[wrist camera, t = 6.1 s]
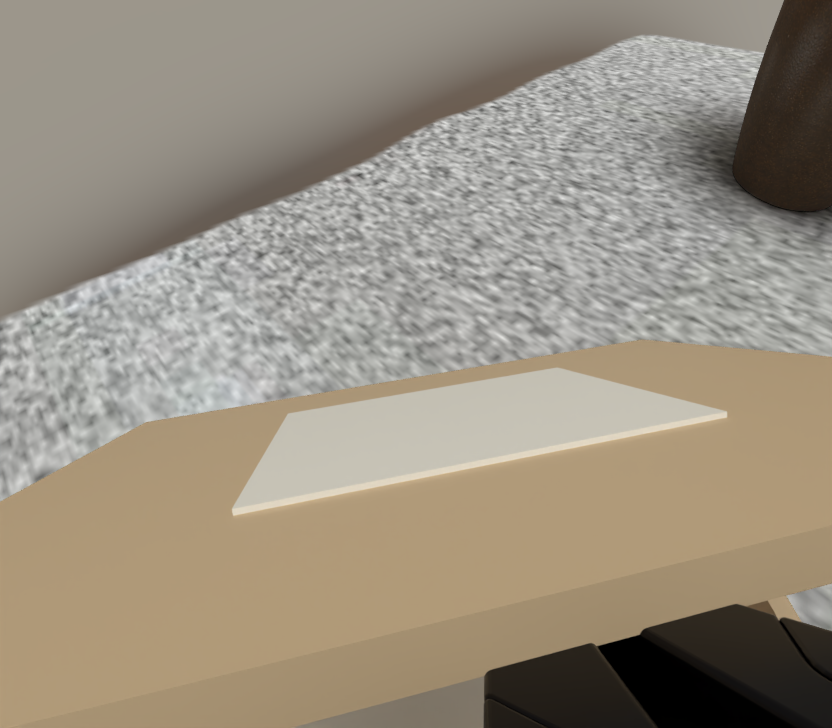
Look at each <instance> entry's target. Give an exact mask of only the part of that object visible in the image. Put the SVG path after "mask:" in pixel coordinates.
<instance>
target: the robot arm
mask: <svg viewBox="0 0 832 728" xmlns="http://www.w3.org/2000/svg"><path fill="white" fill-rule="evenodd" d="M483 728H832V631H829V630H825V629H822V628H819V627H816V626H812V625H809V624H806V623H803V622H799V621H796V620H793V619H790V618H786V617H782V618H780V620H778V618H777V617H776V616H775V615H773V614H769V613H766V612H763V611H759V610H756V609H753V608H750V607H746V606H743V605H740V604H733V605H729V606H726V607H722V608H718V609H714V610H711V611H707V612H703V613H700V614H696V615H692V616H688V617H685V618H681V619H677V620H674V621H670V622H666V623H662V624H659V625H655V626H651V627H648V628H645V629H643V630H642V631H641V633H640V635H637V636H633V637H629V638H625V639H622V640H618V641H614V642H610V643H607V644H603V645H599V646H596V645H595V644H593V643H588V644H585V645H581V646H577V647H573V648H570V649H566V650H562V651H559V652H555V653H551V654H548V655H544V656H540V657H536V658H533V659H529V660H525V661H522V662H518V663H514V664H510V665H507V666H503V667H499V668H496V669H492V670H489V671H488V672H487V673H486V674H485V676H484V720H483Z"/></svg>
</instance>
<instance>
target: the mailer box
mask: <svg viewBox="0 0 832 728" xmlns="http://www.w3.org/2000/svg"><path fill="white" fill-rule="evenodd" d="M746 607H750V608H753V609H756V610H759V611H763V612H766V613H769V614H773V615H775V616H776V617H777V618H778V620H780V618H782V617H786V618H790V619H793V620H796V621H799V622H801V620H800V619H799V617H798V615H797V613H796V612H795V610H794V608H793V607H792V605H791V603H790V602H789V600H788V598H787V597H786V596H783V597H779V598H775V599H771V600H768V601H764V602H760V603H756V604H753V605H749V606H746ZM483 720H484V676H483V677H480V678H476V679H472V680H468V681H465V682H461V683H457V684H453V685H450V686H446V687H442V688H438V689H435V690H431V691H427V692H423V693H420V694H416V695H412V696H408V697H405V698H401V699H397V700H394V701H390V702H386V703H382V704H379V705H375V706H371V707H367V708H364V709H360V710H356V711H352V712H349V713H345V714H341V715H337V716H334V717H330V718H326V719H322V720H319V721H315V722H311V723H307V724H304V725H300V726H296V727H293V728H483Z"/></svg>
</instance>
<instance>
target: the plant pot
mask: <svg viewBox="0 0 832 728" xmlns="http://www.w3.org/2000/svg"><path fill="white" fill-rule="evenodd" d="M733 174H734V176H735V179H736V180H737V182H738V183H739V184H740V185H741V186H742V187H743V188H744V189H745V190H746V191H748V192H749V193H751V194H752V195H754V196H755V197H757V198H759V199H761V200H762V201H765V202H767V203H769V204H771V205H774V206H777V207H781V208H785V209H789V210H795V211H817V210H823V209H826V208H828V207H830V206H832V0H784V2H783V5H782V8H781V10H780V13H779V16H778V18H777V21H776V23H775V26H774V29H773V31H772V34H771V37H770V39H769V42H768V45H767V48H766V51H765V53H764V56H763V59H762V62H761V65H760V68H759V71H758V74H757V77H756V80H755V83H754V87H753V90H752V93H751V96H750V100H749V103H748V106H747V110H746V113H745V117H744V120H743V124H742V128H741V132H740V136H739V140H738V144H737V148H736V153H735V157H734V162H733Z"/></svg>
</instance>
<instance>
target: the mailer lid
mask: <svg viewBox="0 0 832 728" xmlns="http://www.w3.org/2000/svg"><path fill="white" fill-rule="evenodd" d="M831 583H832V357H828V356H817V355H806V354H795V353H784V352H773V351H762V350H751V349H740V348H729V347H718V346H707V345H696V344H685V343H674V342H663V341H652V340H637V341H631V342H625V343H619V344H613V345H607V346H601V347H595V348H589V349H583V350H577V351H571V352H565V353H559V354H553V355H547V356H541V357H535V358H529V359H523V360H517V361H511V362H505V363H499V364H493V365H487V366H481V367H475V368H469V369H463V370H457V371H451V372H445V373H439V374H433V375H427V376H421V377H415V378H409V379H403V380H397V381H391V382H385V383H379V384H373V385H367V386H361V387H355V388H349V389H343V390H337V391H331V392H325V393H319V394H313V395H307V396H301V397H295V398H289V399H283V400H277V401H271V402H265V403H259V404H253V405H247V406H241V407H235V408H229V409H223V410H217V411H211V412H205V413H199V414H193V415H187V416H181V417H175V418H169V419H163V420H157V421H151V422H146V423H144V424H142V425H140V426H138V427H137V428H135V429H133V430H131V431H129V432H127V433H126V434H124V435H122V436H120V437H118V438H116V439H115V440H113V441H111V442H109V443H107V444H105V445H104V446H102V447H100V448H98V449H96V450H94V451H93V452H91V453H89V454H87V455H85V456H83V457H82V458H80V459H78V460H76V461H74V462H72V463H71V464H69V465H67V466H65V467H63V468H61V469H59V470H58V471H56V472H54V473H52V474H50V475H48V476H47V477H45V478H43V479H41V480H39V481H37V482H36V483H34V484H32V485H30V486H28V487H26V488H25V489H23V490H21V491H19V492H17V493H15V494H14V495H12V496H10V497H8V498H6V499H4V500H3V501H1V502H0V728H293V727H296V726H300V725H304V724H307V723H311V722H315V721H319V720H322V719H326V718H330V717H334V716H337V715H341V714H345V713H349V712H352V711H356V710H360V709H364V708H367V707H371V706H375V705H379V704H382V703H386V702H390V701H394V700H397V699H401V698H405V697H408V696H412V695H416V694H420V693H423V692H427V691H431V690H435V689H438V688H442V687H446V686H450V685H453V684H457V683H461V682H465V681H468V680H472V679H476V678H480V677H483V676H485V674H486V673H487V672H488V671H489V670H492V669H496V668H499V667H503V666H507V665H510V664H514V663H518V662H522V661H525V660H529V659H533V658H536V657H540V656H544V655H548V654H551V653H555V652H559V651H562V650H566V649H570V648H573V647H577V646H581V645H585V644H588V643H593V644H595V645H596V646H599V645H603V644H607V643H610V642H614V641H618V640H622V639H625V638H629V637H633V636H637V635H640V633H641V631H642V630H643V629H645V628H648V627H651V626H655V625H659V624H662V623H666V622H670V621H674V620H677V619H681V618H685V617H688V616H692V615H696V614H700V613H703V612H707V611H711V610H714V609H718V608H722V607H726V606H729V605H733V604H740V605H743V606H749V605H753V604H756V603H760V602H764V601H768V600H771V599H775V598H779V597H783V596H786V595H790V594H794V593H798V592H801V591H805V590H809V589H812V588H816V587H820V586H824V585H827V584H831Z"/></svg>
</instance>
